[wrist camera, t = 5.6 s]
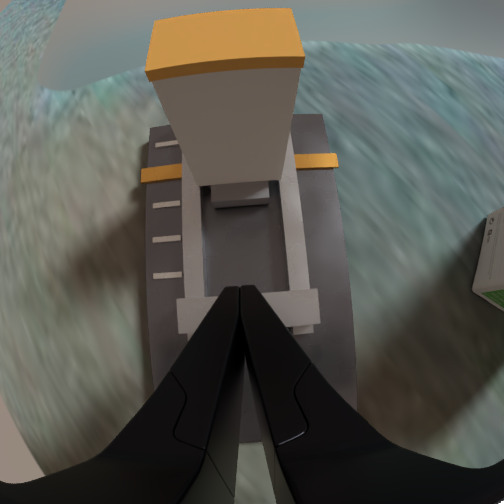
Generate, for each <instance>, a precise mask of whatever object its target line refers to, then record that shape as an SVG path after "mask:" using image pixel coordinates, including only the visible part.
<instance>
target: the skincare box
mask: <svg viewBox="0 0 504 504" xmlns="http://www.w3.org/2000/svg"><path fill="white" fill-rule="evenodd" d="M472 291H473V292H474V293H476V294H477V295H479V296H481V297H482V298H484V299H486V300H487V301H488V302H490V303H491V304H493V305H494V306H496V307H497V308H499V309H500V310H502V311H504V207H503V208H501V209H499V210H497V211H495V212H493V213H491V214H489V215H488V216H487V221H486V227H485V232H484V237H483V243H482V247H481V252H480V257H479V261H478V266H477V270H476V274H475V278H474V282H473V286H472Z"/></svg>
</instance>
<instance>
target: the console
mask: <svg viewBox="0 0 504 504" xmlns="http://www.w3.org/2000/svg"><path fill="white" fill-rule="evenodd" d="M338 167H339V165H338V160H337V155H336V153H330V149H329V144H328V139H327V135H326V130H325V125H324V121H323V116H322V114H293V117H292V122H291V128H290V134H289V139H288V145H287V150H286V156H285V161H284V167H283V172H282V178H281V180H269V181H268V187H269V197H270V198H269V204H259V205H246V206H233V207H221V208H214V207H213V205H212V202H211V185H207V186H197V184H196V182H195V180H194V177H193V175H192V173H191V171H190V168H189V166H188V164H187V162H186V159H185V157H184V155H183V153H182V150H181V148H180V146H179V144H178V141H177V139H176V137H175V134H174V132H173V130H172V128H171V125H166V126H159V127H153V128H150V136H149V149H148V164H147V168H144V169H142V170H141V183H142V184H143V183H147V184H146V216H145V264H146V297H147V316H148V332H149V345H150V356H151V367H152V376H153V385H154V391H155V390H156V388H157V387H158V386H159V384H160V383H161V381H162V380H163V378H164V377H165V375H166V374H167V372H168V371H170V368H171V366H172V365H173V363H174V362H175V360H176V359H177V357H178V356H179V354H180V353H181V351H182V350H183V348H184V347H185V345H186V344H187V342H188V341H189V339H190V338H191V336H192V335H193V333H194V332H195V330H196V329H197V327H198V326H199V324H200V323H201V321H202V320H203V318H204V317H205V315H206V314H207V312H208V311H209V309H210V308H211V306H212V305H213V303H214V302H215V301H216V299H217V298H218V296H219V295H220V293H221V292H222V290H223V289H224V287H226V286H239V287H241V286H242V285H255V286H256V287H257V288H258V289H259V291H260V292H261V294H262V295H263V296H264V298H265V299H266V300H267V302H268V303H269V304H270V306H271V307H272V308H273V310H274V311H275V313H276V314H277V315H278V317H279V318H280V319H281V321H282V322H283V323H284V325H285V326H286V327H287V329H288V330H289V331H290V333H291V334H292V335H293V337H294V338H295V339H296V341H297V342H298V343H299V345H300V346H301V347H302V349H303V350H304V351H305V353H306V354H307V355H308V357H309V358H310V359H311V363H314V364H315V366H316V367H317V368H318V370H319V371H320V372H321V374H322V375H323V376H324V377H325V379H326V380H327V381H328V382H329V383H330V385H331V386H332V387H333V388H334V389H335V390H336V391H337V392H338V393H339V394H340V395H341V396H342V397H343V398H344V400H345V401H346V402H347V403H349V404H350V405H351V406H352V407H353V408H354V409H355V410H356V411H357V380H356V357H355V340H354V325H353V313H352V301H351V291H350V281H349V272H348V263H347V255H346V247H345V239H344V232H343V225H342V218H341V212H340V205H339V199H338V193H337V187H336V181H335V176H334V170H333V168H338ZM259 441H262V437H261V433H260V428H259V423H258V419H257V414H256V409H255V404H254V400H253V395H252V390H251V385H250V380H249V375H248V370H247V365H246V358H245V372H244V385H243V397H242V410H241V422H240V435H239V443H241V442H259Z"/></svg>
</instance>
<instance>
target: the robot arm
mask: <svg viewBox="0 0 504 504" xmlns="http://www.w3.org/2000/svg"><path fill="white" fill-rule="evenodd" d="M245 358H246V365H247V370H248V375H249V380H250V385H251V390H252V395H253V400H254V404H255V409H256V414H257V419H258V423H259V428H260V433H261V437H262V442H263V446H264V451H265V455H266V460H267V464H268V469H269V473H270V478H271V482H272V486H273V491H274V495H275V499H276V503H277V504H504V459H503V460H501V461H500V462H498V463H496V464H494V465H492V466H489V467H486V468H466V467H461V466H458V465H454V464H451V463H447V462H444V461H441V460H438V459H434V458H431V457H428V456H425V455H422V454H419V453H416V452H413V451H410V450H408V449H405V448H402V447H400V446H398V445H396V444H394V443H392V442H390V441H389V440H387V439H386V438H385V437H383V436H382V435H381V434H380V433H379V432H378V431H377V430H376V429H374V428H373V427H372V426H371V425H370V424H369V423H368V422H367V421H366V420H365V419H364V418H363V417H362V416H361V415H360V414H359V413H358V412H357V411H356V410H355V409H354V408H353V407H352V406H351V405H350V404H349V403H347V402H346V401H345V400H344V398H343V397H342V396H341V395H340V394H339V393H338V392H337V391H336V390H335V389H334V388H333V387H332V386H331V385H330V383H329V382H328V381H327V380H326V379H325V377H324V376H323V375H322V374H321V372H320V371H319V370H318V368H317V367H316V366H315V364H314V363H311V359H310V358H309V357H308V355H307V354H306V353H305V351H304V350H303V349H302V347H301V346H300V345H299V343H298V342H297V341H296V339H295V338H294V337H293V335H292V334H291V333H290V331H289V330H288V329H287V327H286V326H285V325H284V323H283V322H282V321H281V319H280V318H279V317H278V315H277V314H276V313H275V311H274V310H273V308H272V307H271V306H270V304H269V303H268V302H267V300H266V299H265V298H264V296H263V295H262V294H261V292H260V291H259V289H258V288H257V287H256V286H255V285H242V286H241V287H239V286H226V287H224V289H223V290H222V292H221V293H220V295H219V296H218V298H217V299H216V301H215V302H214V303H213V305H212V306H211V308H210V309H209V311H208V312H207V314H206V315H205V317H204V318H203V320H202V321H201V323H200V324H199V326H198V327H197V329H196V330H195V332H194V333H193V335H192V336H191V338H190V339H189V341H188V342H187V344H186V345H185V347H184V348H183V350H182V351H181V353H180V354H179V356H178V357H177V359H176V360H175V362H174V363H173V365H172V366H171V368H170V371H168V372H167V374H166V375H165V377H164V378H163V380H162V381H161V383H160V384H159V386H158V387H157V388H156V390H155V391H154V393H153V394H152V395H151V397H150V398H149V399H148V400H147V401H146V403H145V404H144V405H143V406H142V408H141V409H140V410H139V411H138V412H137V414H136V415H135V416H134V417H133V418H132V419H131V420H130V422H129V423H128V424H127V425H126V426H125V427H124V428H123V430H122V431H121V432H120V433H119V434H118V435H117V436H116V437H115V439H114V440H113V441H112V442H111V443H110V444H109V445H108V446H107V447H106V448H105V449H104V450H103V451H102V452H101V453H99V454H98V455H96V456H95V457H93V458H92V459H90V460H88V461H85V462H83V463H80V464H77V465H75V466H72V467H70V468H67V469H64V470H61V471H59V472H56V473H53V474H50V475H47V476H44V477H41V478H38V479H36V480H32V481H29V482H25V483H17V484H11V483H5V482H2V481H0V504H234V497H235V484H236V472H237V460H238V447H239V435H240V422H241V410H242V397H243V385H244V372H245Z"/></svg>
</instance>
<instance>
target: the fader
mask: <svg viewBox="0 0 504 504" xmlns="http://www.w3.org/2000/svg"><path fill="white" fill-rule="evenodd" d="M304 60H305V54H304V51H303V47H302V43H301V40H300V37H299V33H298V30H297V26H296V23H295V20H294V16H293V13H292V10H291V8H260V9H242V10H240V9H239V10H227V11H216V12H207V13H199V14H192V15H185V16H179V17H173V18H167V19H162V20H157V21H155V22H154V27H153V32H152V36H151V41H150V46H149V51H148V56H147V62H146V67H145V73H146V75H147V77H148V80H149V82H151V81H152V83H153V86H154V88H155V91H156V93H157V95H158V98H159V100H160V102H161V105H162V107H163V109H164V111H165V114H166V116H167V118H168V121H169V123H170V125H171V128H172V130H173V132H174V134H175V137H176V139H177V141H178V144H179V146H180V148H181V150H182V153H183V155H184V157H185V159H186V162H187V164H188V166H189V168H190V171H191V173H192V175H193V177H194V180H195V182H196V184H197V186H207V185H211V202H212V205H213V207H214V208H221V207H233V206H246V205H259V204H269V198H270V197H269V187H268V181H269V180H281V178H282V172H283V167H284V161H285V156H286V150H287V145H288V139H289V134H290V128H291V122H292V117H293V111H294V105H295V99H296V94H297V88H298V82H299V76H300V70H301V68H303V65H304Z"/></svg>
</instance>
